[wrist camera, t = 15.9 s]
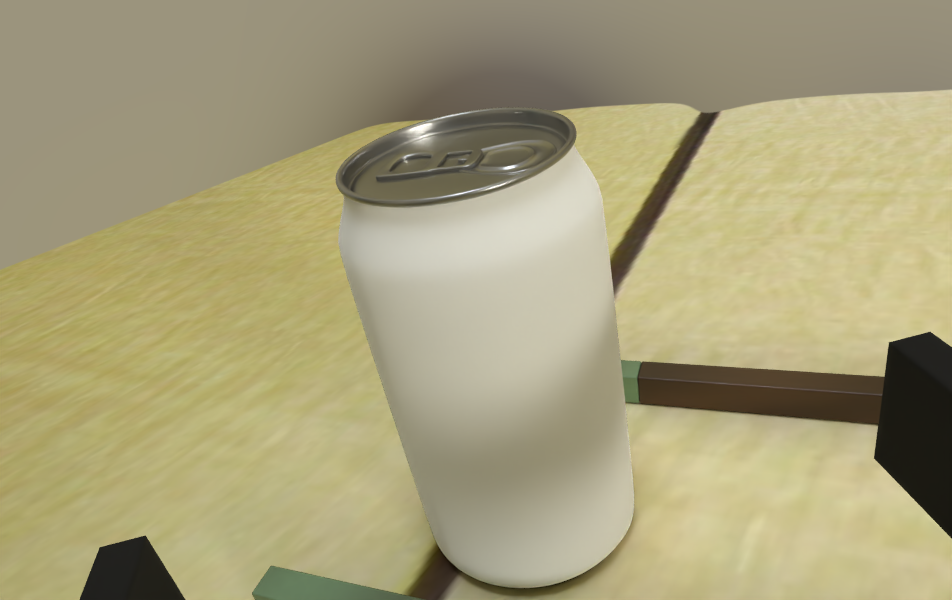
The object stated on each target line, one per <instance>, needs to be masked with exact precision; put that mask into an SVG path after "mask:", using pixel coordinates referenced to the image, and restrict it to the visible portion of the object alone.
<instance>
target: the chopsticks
mask: <svg viewBox="0 0 952 600" xmlns="http://www.w3.org/2000/svg"><path fill="white" fill-rule="evenodd" d="M621 367H622V377H623V386H624V396H625V402H632V403H639V401H640V403H644V404H656V405H667V406H679V407H690V408H702V409H714V410H725V411H737V412H748V413H760V414H771V415H783V416H795V417H806V418H818V419H829V420H841V421H853V422H864V423H876V424H879V417H880V409H881V401H882V393H883V386H884V378H885V377H879V376H863V375H847V374H831V373H815V372H800V371H784V370H768V369H752V368H736V367H720V366H705V365H689V364H673V363H657V362H642V363H641V362H640V361H625V360H621ZM252 595H253V597H254V599H255V600H424V599H420V598H415V597H411V596H406V595H402V594H397V593H393V592H388V591H384V590H379V589H375V588H370V587H366V586H361V585H357V584H352V583H348V582H343V581H339V580H334V579H330V578H325V577H321V576H316V575H312V574H307V573H302V572H298V571H293V570H289V569H284V568H280V567H275V566H271V567H270V568H269V569H268V571H267V572H266V574H265V575H264V577H263V578H262V579H261V581H260V582H259V584H258V585H257V587H256V588H255V590H254V591H253V592H252Z"/></svg>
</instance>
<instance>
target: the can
mask: <svg viewBox="0 0 952 600" xmlns="http://www.w3.org/2000/svg"><path fill="white" fill-rule="evenodd" d="M575 140H576V128H575V126H574V124H573V123H572V122H571V121H570V120H569V119H568V118H567V117H565V116H563V115H561V114H559V113H556V112H552V111H548V110H544V109H537V108H524V107H506V108H491V109H482V110H474V111H467V112H461V113H456V114H451V115H447V116H442V117H438V118H434V119H430V120H427V121H423V122H420V123H417V124H413V125H410V126H408V127H405V128H402V129H399V130H397V131H394V132H392V133H389V134H387V135H385V136H383V137H380V138H378V139H376V140H374V141H372V142H371V143H369V144H367V145H365V146H364V147H362V148H360V149H359V150H357V151H356V152H355V153H353V154H352V155H351V156H350V157H349V158H347V159H346V160H345V161H344V162H343V164H342V165H341V166H340V168H339V169H338V171H337V174H336V185H337V187H338V189H339V190H340V192H341V193H342V194H343V195H344V203H343V210H342V215H341V221H340V227H339V248H340V253H341V258H342V261H343V264H344V268H345V271H346V275H347V278H348V281H349V284H350V287H351V290H352V293H353V297H354V300H355V303H356V306H357V309H358V312H359V315H360V318H361V321H362V324H363V327H364V331H365V334H366V337H367V340H368V343H369V346H370V349H371V352H372V355H373V358H374V361H375V364H376V367H377V370H378V373H379V376H380V379H381V382H382V385H383V388H384V391H385V394H386V397H387V400H388V403H389V406H390V409H391V412H392V415H393V419H394V421H395V424H396V427H397V430H398V433H399V436H400V439H401V442H402V445H403V448H404V451H405V454H406V457H407V460H408V463H409V466H410V469H411V472H412V475H413V478H414V481H415V484H416V487H417V490H418V493H419V496H420V499H421V502H422V505H423V508H424V511H425V514H426V516H427V519H428V522H429V525H430V528H431V530H432V533H433V536H434V538H435V540H436V542H437V544H438V546H439V548H440V550H441V551H442V553H443V554H444V555H445V557H446V558H447V559H448V560H449V561H450V562H451V563H452V564H453V565H454V566H456V567H457V568H458V569H459V570H461V571H462V572H464V573H466V574H467V575H469V576H471V577H473V578H475V579H477V580H480V581H483V582H486V583H489V584H492V585H497V586H502V587H510V588H534V587H543V586H548V585H553V584H557V583H560V582H563V581H566V580H569V579H571V578H574V577H576V576H578V575H580V574H582V573H584V572H586V571H588V570H589V569H591V568H592V567H594V566H595V565H597V564H598V563H600V562H601V561H602V560H603V559H605V558H606V557H607V556H608V555H609V554H610V553H611V552H612V551H613V550H614V549H615V548H616V546H617V545H618V544H619V543H620V541H621V540H622V539H623V537H624V536H625V534H626V533H627V531H628V529H629V527H630V524H631V521H632V518H633V512H634V486H633V474H632V464H631V453H630V444H629V434H628V424H627V414H626V405H625V396H624V386H623V377H622V367H621V358H620V349H619V339H618V330H617V321H616V312H615V303H614V293H613V284H612V275H611V266H610V257H609V249H608V240H607V232H606V223H605V216H604V209H603V202H602V197H601V192H600V188H599V185H598V183H597V181H596V179H595V177H594V175H593V174H592V172H591V170H590V169H589V167H588V166H587V164H586V163H585V162H584V160H583V159H582V157H581V156H580V154H579V153H578V151H577V150H576V148H575V145H574V143H575Z"/></svg>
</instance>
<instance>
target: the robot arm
mask: <svg viewBox="0 0 952 600" xmlns="http://www.w3.org/2000/svg"><path fill="white" fill-rule="evenodd" d="M874 459H875V460H876V461H877V462H878V463H879V464H880V465H881V466H882V467H883V468H884V469H885V470H886V471H887V472H888V473H889V474H890V475H891V476H892V477H893V478H894V479H895V480H896V481H897V482H898V483H899V484H900V485H901V486H902V487H903V489H904V490H905V491H906V492H907V493H908V494H909V495H910V496H911V497H912V498H913V499H914V500H915V501H916V502H917V503H918V504H919V505H920V506H921V507H922V508H923V509H924V510H925V511H926V512H927V513H928V514H929V515H930V516H931V517H932V519H933V520H934V521H935V522H936V523H937V524H938V525H939V526H940V527H941V528H942V529H943V530H944V531H945V532H946V533H947V534H948V535H949V536H950V537H951V538H952V347H951V346H949V345H948V344H946V343H945V342H944V341H942V340H941V339H939V338H938V337H937V336H935V335H934V334H933V333H931V332H928V333H924V334H920V335H916V336H912V337H908V338H905V339H901V340H897V341H893V342H889V347H888V355H887V363H886V370H885V378H884V386H883V393H882V401H881V409H880V417H879V424H878V432H877V440H876V447H875V455H874ZM80 600H185V598H184V597H183V595H182V594H181V592H180V590H179V589H178V587H177V585H176V584H175V582H174V581H173V579H172V577H171V576H170V574H169V573H168V571H167V569H166V568H165V566H164V565H163V563H162V561H161V560H160V558H159V556H158V555H157V553H156V552H155V550H154V548H153V547H152V545H151V544H150V542H149V540H148V539H147V537H146V536H142V537H138V538H134V539H130V540H127V541H123V542H119V543H115V544H111V545H107V546H103V547H100V548H99V551H98V553H97V556H96V558H95V561H94V564H93V566H92V569H91V571H90V574H89V577H88V579H87V582H86V584H85V587H84V590H83V592H82V595H81V597H80Z"/></svg>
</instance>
